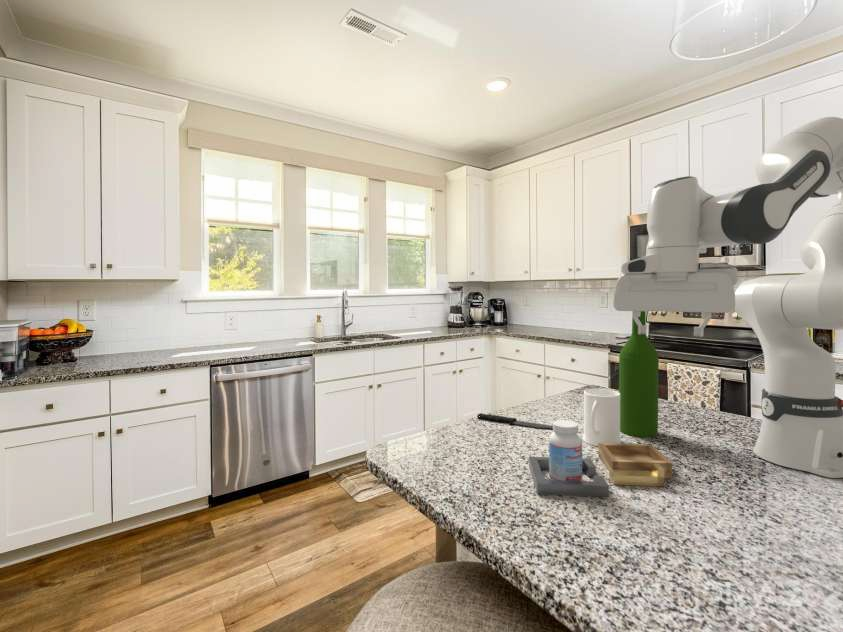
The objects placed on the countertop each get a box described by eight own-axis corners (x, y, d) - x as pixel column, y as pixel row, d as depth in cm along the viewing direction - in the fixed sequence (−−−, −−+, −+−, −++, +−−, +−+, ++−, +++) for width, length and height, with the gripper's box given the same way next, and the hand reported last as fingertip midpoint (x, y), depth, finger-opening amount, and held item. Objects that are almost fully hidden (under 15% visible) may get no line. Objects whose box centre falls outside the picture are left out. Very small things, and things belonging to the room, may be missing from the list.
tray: (651, 457, 92) (651, 444, 92) (672, 478, 82) (672, 463, 82) (598, 456, 94) (598, 443, 93) (612, 476, 84) (612, 461, 84)
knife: (570, 424, 112) (565, 429, 108) (570, 430, 113) (565, 436, 108) (482, 411, 126) (474, 416, 122) (482, 416, 126) (475, 421, 122)
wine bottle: (652, 427, 112) (653, 304, 110) (662, 438, 104) (664, 305, 102) (615, 425, 115) (616, 304, 113) (622, 436, 106) (623, 305, 104)
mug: (607, 454, 95) (608, 401, 94) (571, 445, 100) (570, 395, 100) (626, 440, 103) (626, 391, 102) (591, 432, 109) (591, 386, 108)
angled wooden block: (658, 480, 82) (658, 463, 81) (664, 486, 79) (664, 469, 79) (609, 478, 83) (609, 462, 82) (613, 484, 80) (613, 468, 80)
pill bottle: (572, 490, 78) (572, 431, 78) (542, 480, 83) (542, 423, 82) (588, 480, 82) (588, 423, 82) (559, 470, 87) (559, 416, 86)
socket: (590, 467, 88) (590, 458, 88) (608, 496, 76) (608, 486, 75) (528, 466, 89) (528, 456, 89) (537, 494, 77) (537, 483, 77)
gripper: (735, 262, 80) (732, 336, 80) (615, 266, 89) (614, 331, 90) (741, 260, 74) (738, 339, 75) (613, 264, 84) (611, 334, 85)
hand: (669, 335), depth 83 cm, fingers open, 8 cm apart
